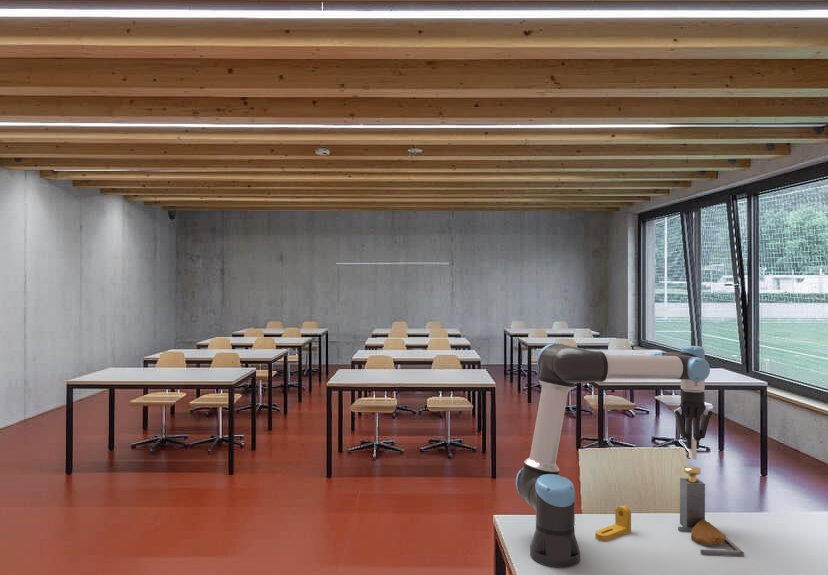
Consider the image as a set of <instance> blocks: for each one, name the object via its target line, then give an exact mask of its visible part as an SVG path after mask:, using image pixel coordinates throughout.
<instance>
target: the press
mask: <svg viewBox="0 0 828 575" xmlns="http://www.w3.org/2000/svg"><path fill="white" fill-rule="evenodd" d="M679 485H680V486H679V524H680V525H681V526H677V530H678V532H684V533H685V532H686V533H687V532H689V533H692V528H693V527H695V526H696V524H697V523H698V522H700V521H701V520H706V483H705V482H703V481H702V480H700V479H699V478H697V477H696V483H689V477H680V479H679ZM715 528H716V529H717V530H719V529H718V528H717V527H715ZM719 532H720V533H722V532H721V531H720V530H719ZM724 543H725V545H727V546H728V547H729V548H730V550H729V549H728V550H727V549H705V548H704V549H703V548H701V549H700V550H699V551H700V552H699V553H700V554H701V556H727V557H744V556H745V552H744V551H743V550H742V549H740V548H739V546H738V545H736V544H735V543H734V542H733V541H731V540H730V539H729V538H728V537H727V536H726V538H725V540H724Z"/></svg>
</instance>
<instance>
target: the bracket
mask: <svg viewBox="0 0 828 575" xmlns="http://www.w3.org/2000/svg"><path fill="white" fill-rule="evenodd" d="M614 515H615V517H614V518H615V523H614V524H611V525H608V526H606V527H602V528H601V529H599V530H595V533H594V534H595V535H594V536H595V537H594V538H595V539H596V540H597V541H600V542H609V541H610V540H613V539H616V538H619V537H621V536H624V535H627V534H629V533H631V532H632V510H631V509H630V508H629V506H626V505H620V506H618V507H616V508H615V514H614Z"/></svg>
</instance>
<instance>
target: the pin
mask: <svg viewBox="0 0 828 575" xmlns="http://www.w3.org/2000/svg"><path fill="white" fill-rule="evenodd" d="M683 471H684V473H685V474H688V478H689V483H696V478H697V475H701V472H702V469H701V468H700V467H697V466H692V465H691V466H690V465H687V466H684V467H683Z"/></svg>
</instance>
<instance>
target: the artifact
mask: <svg viewBox="0 0 828 575" xmlns="http://www.w3.org/2000/svg"><path fill="white" fill-rule="evenodd" d="M716 528H717V527H715V526H714V525H713V524H711V522H709V521H707V520H706V519H705V520H701V521H700V522H698V523H697V524H696V526H695V527H693V528H692V532H690V533H691V535H690V540H692V541H693V542H695V543H697V544H701V545H703V546H714V545H719V546H721V545H723V544H724V543H725V542H724V540H725V538H726V537H727V535H725V534H724V533H723V532H721V531H720V530H719V529H718V528H717V529H718V530H717V529H716ZM719 531H720V532H721V533H720V532H719Z"/></svg>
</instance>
